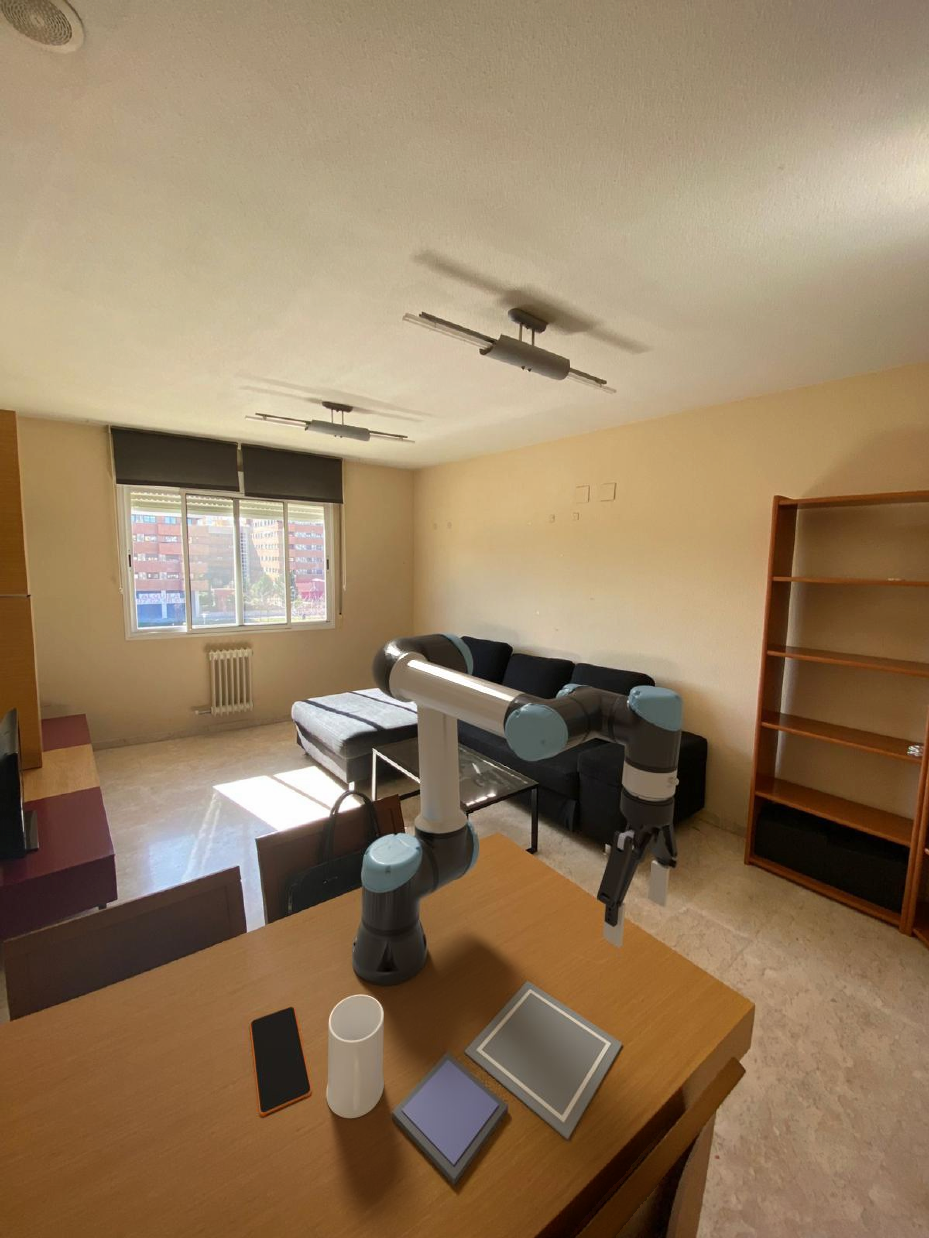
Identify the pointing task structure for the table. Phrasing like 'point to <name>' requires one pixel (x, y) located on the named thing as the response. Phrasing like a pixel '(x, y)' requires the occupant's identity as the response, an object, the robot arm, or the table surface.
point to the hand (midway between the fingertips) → (635, 920)
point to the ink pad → (450, 1116)
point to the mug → (355, 1056)
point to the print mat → (545, 1056)
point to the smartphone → (279, 1061)
